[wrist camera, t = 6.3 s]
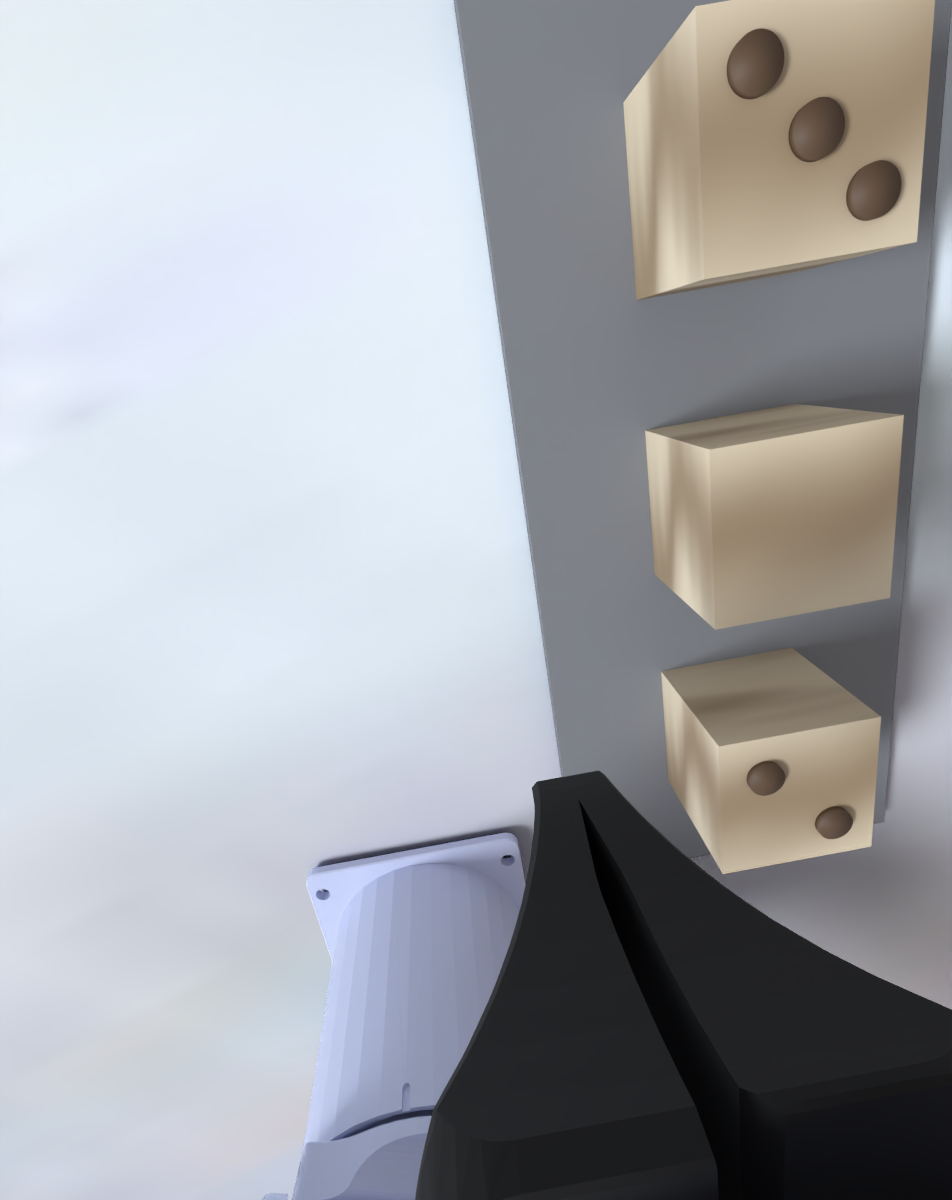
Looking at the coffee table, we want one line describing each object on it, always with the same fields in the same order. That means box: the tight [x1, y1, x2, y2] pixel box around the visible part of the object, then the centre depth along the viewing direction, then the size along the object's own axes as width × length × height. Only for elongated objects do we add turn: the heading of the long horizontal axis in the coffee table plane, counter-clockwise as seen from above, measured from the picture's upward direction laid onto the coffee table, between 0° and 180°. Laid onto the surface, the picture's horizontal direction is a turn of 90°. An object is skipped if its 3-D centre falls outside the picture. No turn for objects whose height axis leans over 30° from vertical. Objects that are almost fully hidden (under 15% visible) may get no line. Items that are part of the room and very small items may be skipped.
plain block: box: [645, 404, 904, 630], centre depth 17 cm, size 4×4×4 cm
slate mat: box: [454, 0, 952, 858], centre depth 20 cm, size 28×12×1 cm, turn 9°
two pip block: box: [661, 648, 881, 874], centre depth 20 cm, size 4×4×5 cm
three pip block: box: [623, 0, 935, 300], centre depth 14 cm, size 4×4×5 cm
